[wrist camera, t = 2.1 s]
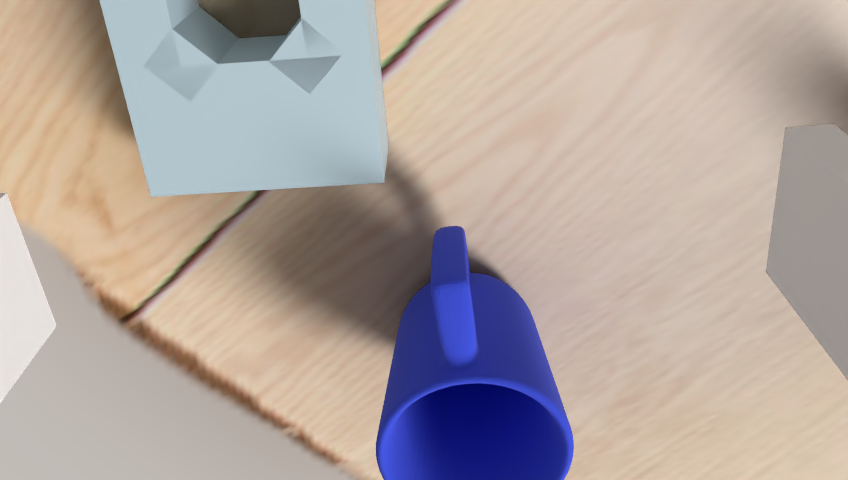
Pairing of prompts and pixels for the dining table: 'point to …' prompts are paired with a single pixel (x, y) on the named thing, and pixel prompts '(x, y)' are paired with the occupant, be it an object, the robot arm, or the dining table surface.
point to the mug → (470, 383)
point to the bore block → (251, 97)
